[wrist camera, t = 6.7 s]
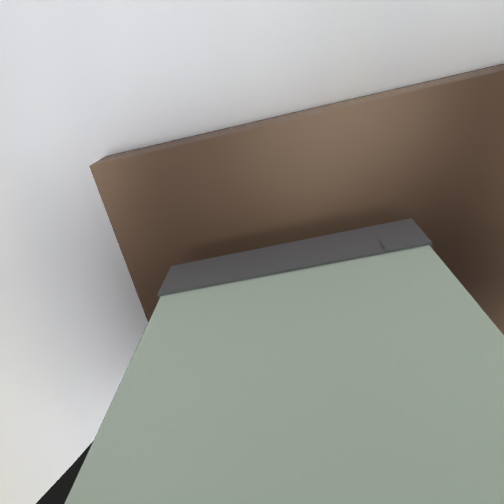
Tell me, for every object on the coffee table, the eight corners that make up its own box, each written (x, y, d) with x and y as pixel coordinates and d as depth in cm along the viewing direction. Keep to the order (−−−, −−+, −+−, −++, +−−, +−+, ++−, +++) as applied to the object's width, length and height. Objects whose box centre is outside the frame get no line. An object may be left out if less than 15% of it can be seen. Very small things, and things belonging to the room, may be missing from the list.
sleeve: (411, 218, 9) (655, 500, 3) (430, 410, 10) (602, 797, 5) (171, 265, 9) (23, 571, 4) (229, 438, 11) (188, 811, 6)
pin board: (868, -21, 9) (1379, -87, 5) (767, 352, 12) (1011, 497, 8) (105, 156, 11) (5, 217, 7) (204, 432, 14) (177, 582, 10)
